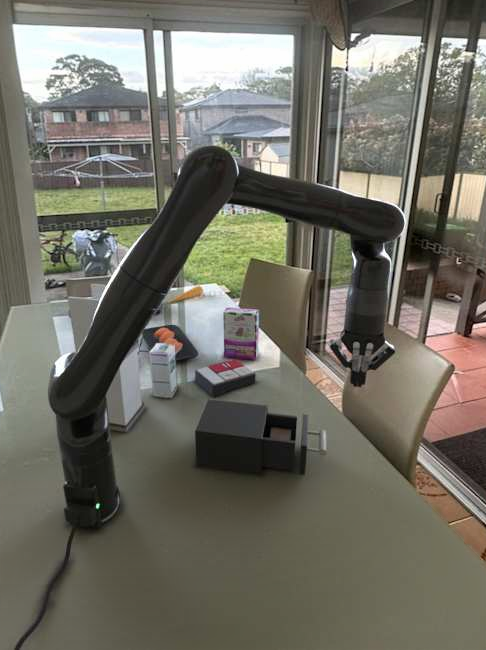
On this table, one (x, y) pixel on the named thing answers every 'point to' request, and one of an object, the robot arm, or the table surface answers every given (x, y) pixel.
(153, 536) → the table surface
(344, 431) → the table surface
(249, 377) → the calculator
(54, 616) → the table surface
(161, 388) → the syrup box
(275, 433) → the block
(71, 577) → the table surface
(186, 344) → the sushi plate
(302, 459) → the drawer
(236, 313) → the candy bar box
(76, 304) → the tall white pillar
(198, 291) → the carrot
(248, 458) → the cabinet
